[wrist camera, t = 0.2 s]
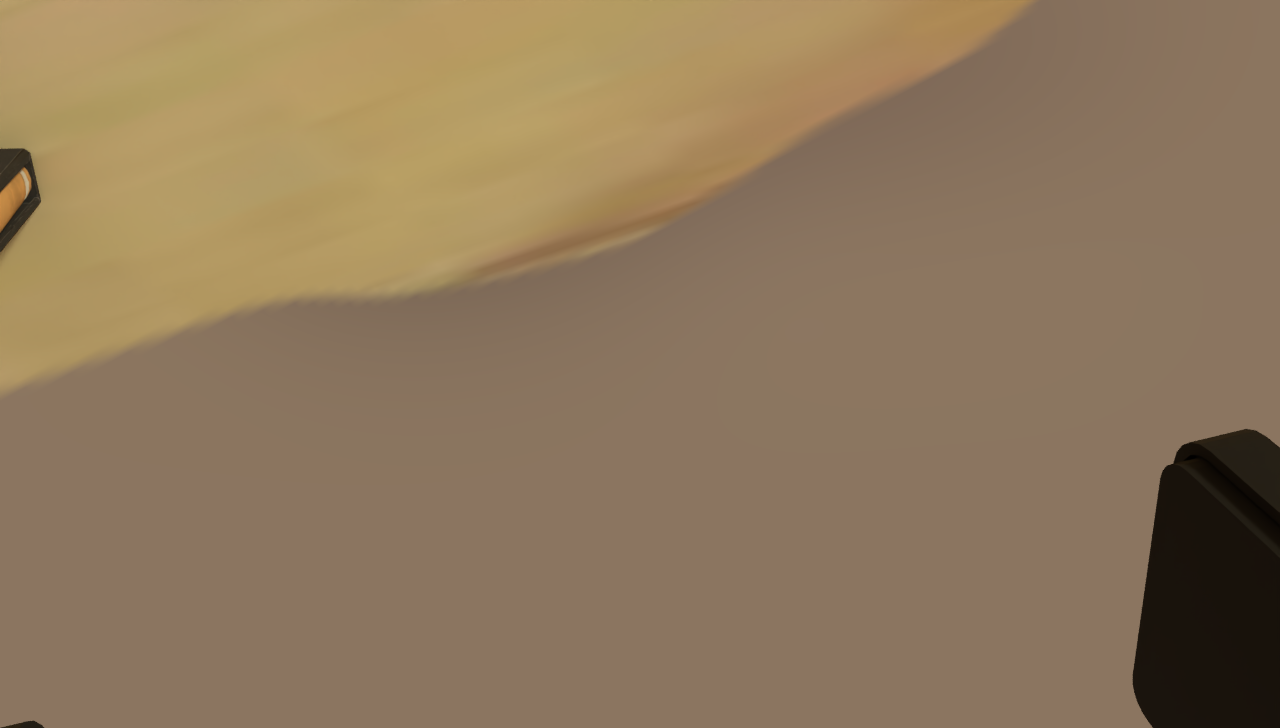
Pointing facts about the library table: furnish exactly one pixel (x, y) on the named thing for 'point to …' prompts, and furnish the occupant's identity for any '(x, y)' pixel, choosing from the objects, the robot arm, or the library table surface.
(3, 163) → the ammunition clip
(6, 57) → the library table surface
